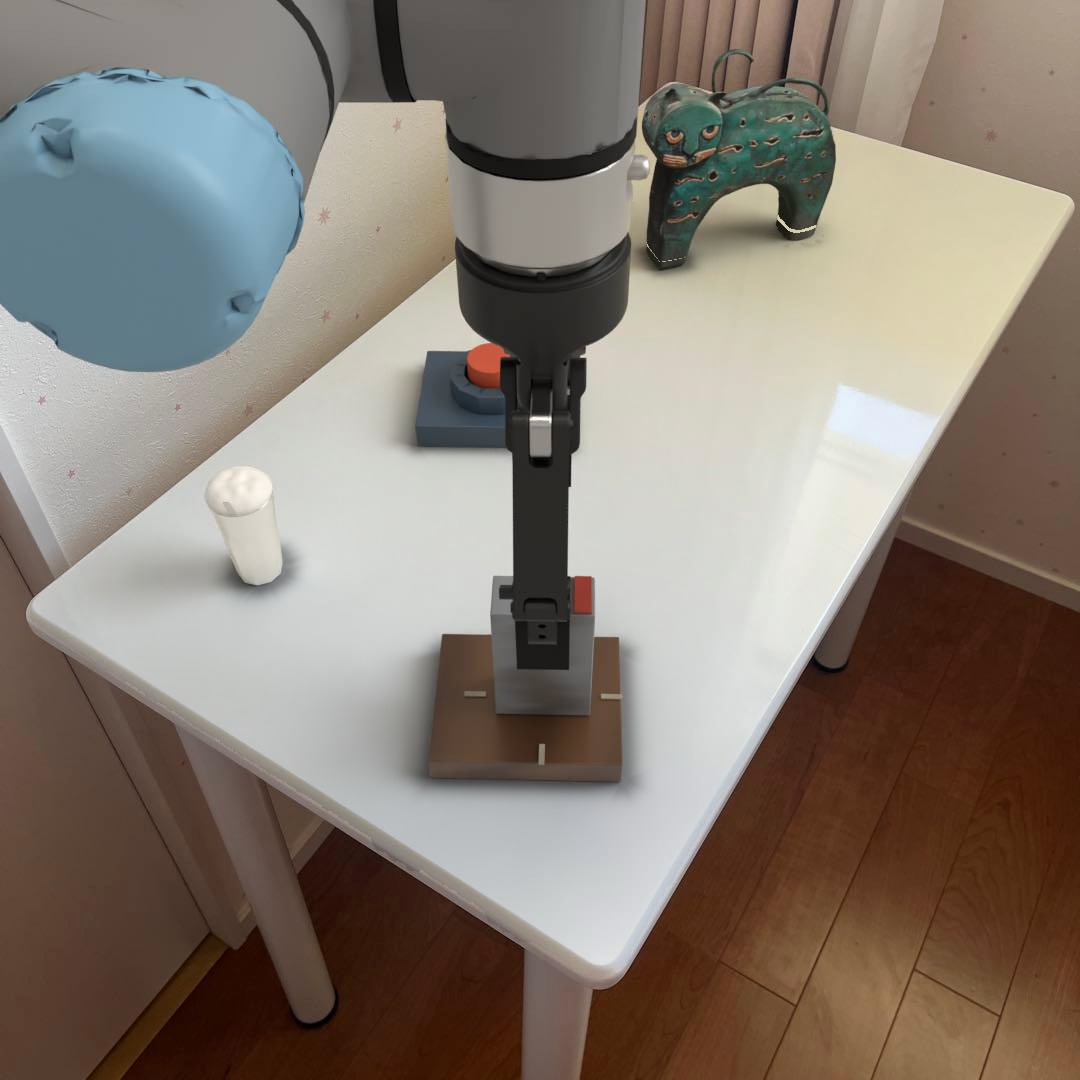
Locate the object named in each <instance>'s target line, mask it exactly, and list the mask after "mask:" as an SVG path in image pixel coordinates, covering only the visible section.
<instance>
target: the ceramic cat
mask: <svg viewBox="0 0 1080 1080" xmlns="http://www.w3.org/2000/svg"><path fill="white" fill-rule="evenodd" d="M732 55H740V56H744V57H745V58H747V60H749V62H750V64H752V63H754V62H755V59H754V57H753V55H751V54H750V53H749V52H748V51H746V50H745V49H741V48H732V49H729V50H727V51H725V52H724V53H723V54H721V55H719V56H718V58H717V59H716V61H715V63H714V65H713V68H712V73H711V90H712V93H708V92H706V91H705V90H703V89H701V88H698V87H696V86H693V85H692V84H689V83H671V84H669V85H667V86H665V87H662V88H661V89H659V90H658V91H656V92H655V93H653V95H652V96H651V97H650V98H649V99H648V101H647V102H646V105H645V108H644V112H643V116H642V120H641V132H642V133H641V134H642V136H643V140H644V141H645V144H646V146H647V147H649V149H650V151H651V153H652V154H653V155H654V157H655V159H656V162H655V165H654V168H653V174H652V178H651V179H652V180H651V184H650V188H649V194H648V195H649V196H648V217H647V224H646V225H647V227H646V242H647V244H648V246H649V248H650V249H651V250H652V252H653V253H654V254H655V256H656V257H657V258H658V259H657V258H656V257H655V256H654V254H653V253H652V252H651V251H650V249H649V248H648V247H647V245H646V244H645V245H646V246H645V252H646V254H647V255H648V257H649V258H650V259H651V261H652V262H653V263H654V265H655V266H656V267H657V268H658V270H659V271H662V270H667V269H671V268H676V267H681V266H683V265H685V263H686V261H687V257H688V254H689V249H690V247H691V244H692V241H693V239H694V236H695V233H696V232H697V229H698V227H699V226H700V225H701V223H702V221H703V220H704V219H705V217H706V215H707V214H708V213H709V212H710V210H711V209H712V207H713V206H714V205H715V204H716V203H717V202H718V201H719V200H721V199H722V198H724V197H726V196H728V195H730V194H732V193H735V192H738V191H740V190H742V189H745V188H748V187H752V186H756V185H769V186H772V187H773V188H775V189H776V190H777V191H778V192H777V194H778V198H777V202H778V208H777V216H778V215H779V217H780V219H782V220H783V221H784V222H785V224H786V225H787V226H788V227H789V228H791V229H795V230H802V229H805V228H809V227H811V226H814V225H817V226H818V224H819V220H820V217H821V214H822V211H823V209H824V207H825V203H826V201H827V198H828V195H829V193H830V190H831V188H832V185H833V181H834V174H835V169H836V163H837V156H836V155H837V149H836V142H835V140H834V135H833V131H832V128H831V124H830V121H829V119H828V115H829V112H830V109H829V99H828V96H827V92H826V91H825V89H824V87H822V85H820V84H819V83H818V82H817V81H816V80H811V79H808V78H801V77H790V78H789V77H788V78H780V79H778V80H775V81H772V82H769V83H766V84H764V85H763V86H754V87H749V88H743V89H739V90H737V91H734V92H731V93H728V92H726V91H717V90H716V81H715V79H716V77H715V76H716V72H717V70H718V67H719V66H720V65H721V63H722V62H723V61H724V60H726V59H727V58H728V57H730V56H732ZM784 84H794V85H806V86H810V87H812V88H813V89H815V90H816V91H817V92H818V93H819V94H820V95H821V97H822V99H823V104H824V108H823V110H822V109H821V107H819V106H818V105H817V104H816V103H815V102H814V101H812V100H811V99H810V98H808V97H807V96H806V95H804V94H803V93H801V92H800V91H798V90H797V89H794V88H791V87H786V86H785V87H784V86H779V85H784ZM727 93H728V94H727ZM775 227H776V229H777V231H780V232H781V233H782V235H783V237H784V238H785V239H788V240H790V241H800V240H804V239H807V238H810V237H812V236H814V234H815V232H816V229H817V227H816V228H814V229H812V230H809V231H805V232H800V233H793V232H790V231H788V230H787V229H786V228H785V227H784V226H783V225H782V224H781V223H780V222H779V221H778V220H777V219H776V221H775ZM685 256H687V257H685ZM684 257H685V258H684ZM679 258H682V259H679ZM674 259H677V260H674ZM658 260H659V261H660V262H659V261H658ZM668 260H672V261H668ZM662 261H666V262H662Z"/></svg>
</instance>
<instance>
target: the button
mask: <svg viewBox="0 0 1080 1080" xmlns="http://www.w3.org/2000/svg"><path fill="white" fill-rule="evenodd" d="M470 350H471V351H470V352H469V354H468V356H467V366H468V378H469V380H470V381H471V382H472V383H473V384H474V385H476V386H478V387H481V388H491V389H498V388H500V359H501V357H510V355H508V354H505V353H504V351H503V348H502V347H500V346H498V345H495V344H493V343H491V342H486V343H482V344H479V345H477V346H475V347H473V348H471V349H470Z"/></svg>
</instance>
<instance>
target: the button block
mask: <svg viewBox="0 0 1080 1080" xmlns="http://www.w3.org/2000/svg"><path fill="white" fill-rule="evenodd" d="M471 350H472V349H469V350H465V351H464V350H427V351H426V357H425V362H424V370H423V374H422V381H421V388H420V389H421V390H420V395H419V401H418V407H417V414H416V420H415V435H416V445H417V446H418V447H453V448H454V447H455V448H456V447H460V448H461V447H462V448H464V447H465V448H468V447H469V448H507V447H506V444H505V396H504V394H503V393H502V391H501V389H500V388H498V389H491V388H481V387H478V386H476V385H474V384H473V383H472V382H471V381H470V380H469V378H468V366H467V356H468V354H469V352H470V351H471ZM518 411H519V406H518Z"/></svg>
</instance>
